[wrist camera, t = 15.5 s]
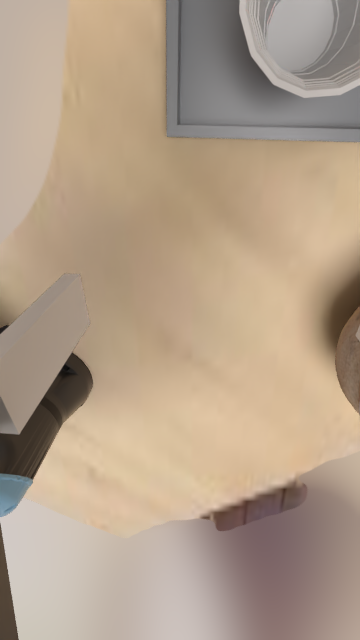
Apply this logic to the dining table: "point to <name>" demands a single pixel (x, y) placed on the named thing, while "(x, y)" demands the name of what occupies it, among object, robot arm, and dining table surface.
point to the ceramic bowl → (349, 360)
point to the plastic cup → (305, 43)
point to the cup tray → (239, 84)
